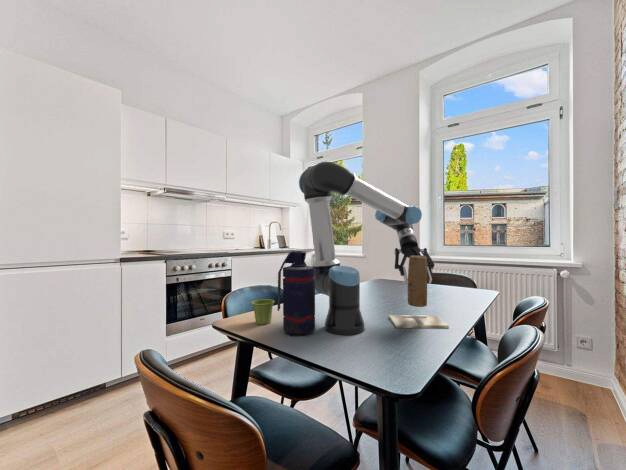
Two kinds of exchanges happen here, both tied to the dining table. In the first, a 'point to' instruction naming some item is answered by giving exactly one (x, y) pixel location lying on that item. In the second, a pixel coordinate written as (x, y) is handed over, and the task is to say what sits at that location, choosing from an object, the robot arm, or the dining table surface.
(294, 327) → the grenade
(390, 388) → the dining table surface
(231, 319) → the dining table surface
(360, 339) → the dining table surface
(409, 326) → the letter board
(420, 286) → the block
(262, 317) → the plant pot
